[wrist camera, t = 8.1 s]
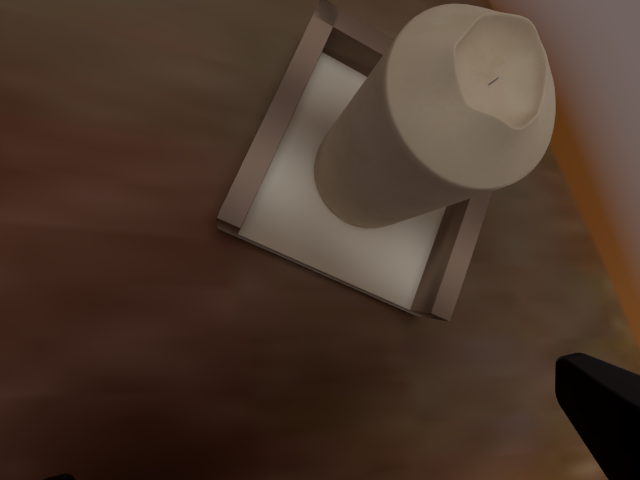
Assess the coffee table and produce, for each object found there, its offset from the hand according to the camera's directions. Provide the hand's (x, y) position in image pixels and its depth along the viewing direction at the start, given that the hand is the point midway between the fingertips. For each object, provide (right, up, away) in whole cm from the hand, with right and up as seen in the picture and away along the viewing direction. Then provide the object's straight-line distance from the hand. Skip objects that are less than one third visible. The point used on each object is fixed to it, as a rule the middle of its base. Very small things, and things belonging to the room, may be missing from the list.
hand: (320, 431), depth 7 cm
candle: (+2, +7, +12) cm, 14 cm away
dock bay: (+2, +7, +13) cm, 15 cm away
